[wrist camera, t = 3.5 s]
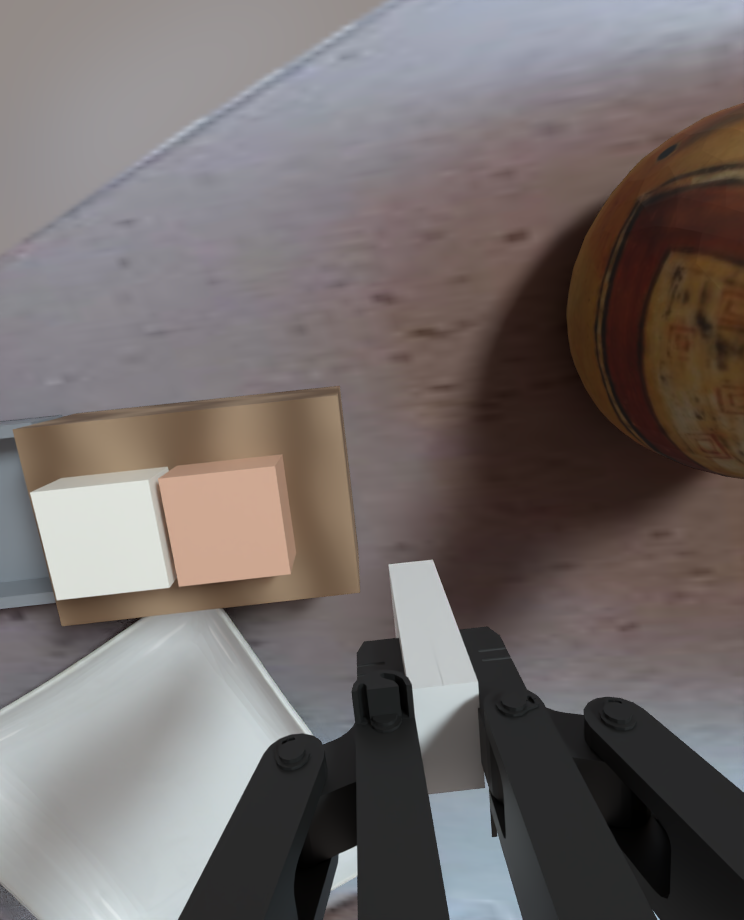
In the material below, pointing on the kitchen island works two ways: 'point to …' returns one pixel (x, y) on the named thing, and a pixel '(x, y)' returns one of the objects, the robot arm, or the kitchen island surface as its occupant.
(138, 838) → the square plate
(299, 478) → the brushed bronze panel
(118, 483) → the cream tile
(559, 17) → the kitchen island surface
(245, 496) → the terracotta tile
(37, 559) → the bin
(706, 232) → the ceramic pitcher
